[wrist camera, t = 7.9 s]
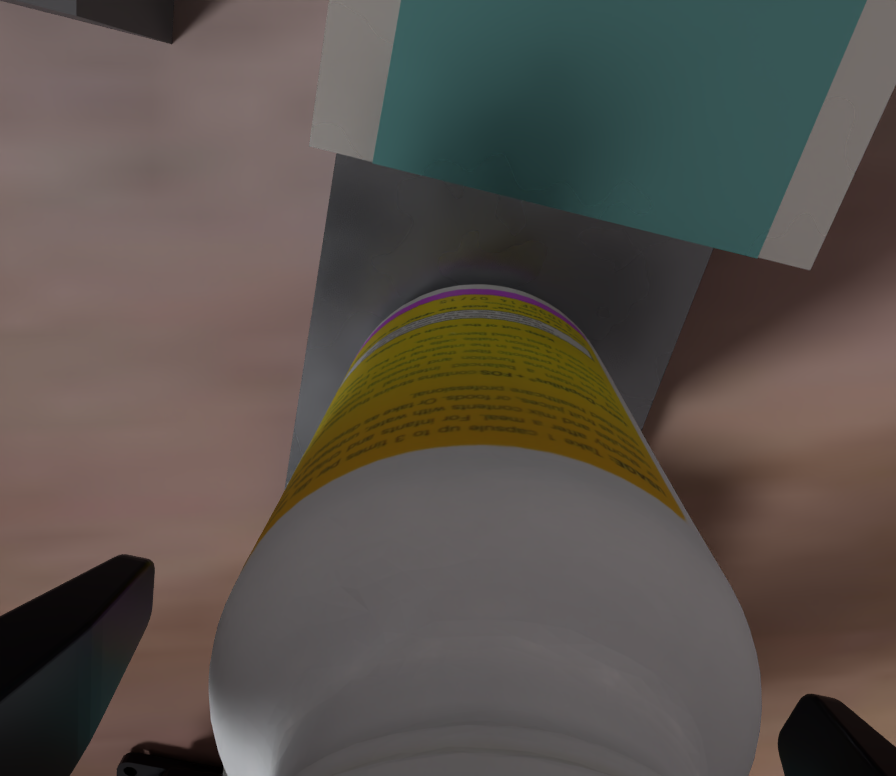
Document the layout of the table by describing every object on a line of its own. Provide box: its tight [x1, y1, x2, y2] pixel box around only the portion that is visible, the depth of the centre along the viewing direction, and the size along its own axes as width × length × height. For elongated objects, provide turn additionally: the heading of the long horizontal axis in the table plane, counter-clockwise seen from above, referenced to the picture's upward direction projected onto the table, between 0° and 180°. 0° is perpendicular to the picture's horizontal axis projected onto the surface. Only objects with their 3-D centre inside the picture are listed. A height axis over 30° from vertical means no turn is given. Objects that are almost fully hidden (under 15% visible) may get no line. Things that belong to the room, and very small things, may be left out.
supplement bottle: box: [209, 284, 762, 776], centre depth 10 cm, size 7×7×13 cm
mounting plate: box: [223, 0, 896, 776], centre depth 14 cm, size 20×9×7 cm, turn 167°
